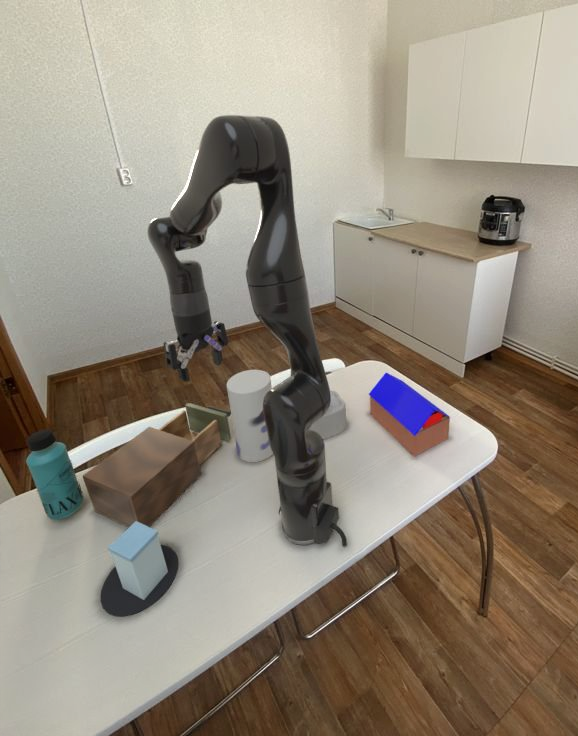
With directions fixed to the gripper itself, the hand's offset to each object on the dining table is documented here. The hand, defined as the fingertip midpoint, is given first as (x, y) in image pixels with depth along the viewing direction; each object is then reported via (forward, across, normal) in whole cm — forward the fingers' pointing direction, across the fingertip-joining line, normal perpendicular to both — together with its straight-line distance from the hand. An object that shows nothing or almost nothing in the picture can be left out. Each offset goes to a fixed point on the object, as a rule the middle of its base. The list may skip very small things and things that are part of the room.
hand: (202, 372), depth 89 cm
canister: (+22, -27, -17) cm, 39 cm away
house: (+22, +34, -37) cm, 55 cm away
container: (+22, +6, -9) cm, 25 cm away
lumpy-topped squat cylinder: (+22, +21, -17) cm, 35 cm away
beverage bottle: (+23, -29, +10) cm, 38 cm away
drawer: (+21, -3, +4) cm, 22 cm away
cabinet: (+22, -17, +1) cm, 28 cm away
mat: (+22, -28, -16) cm, 39 cm away
